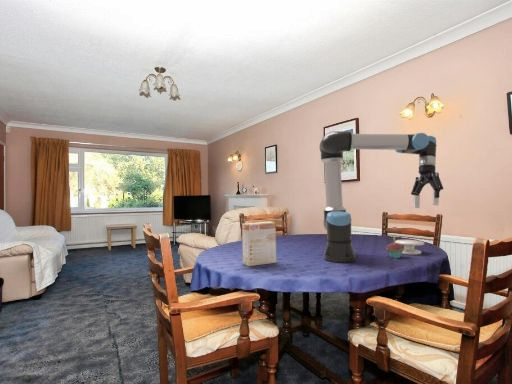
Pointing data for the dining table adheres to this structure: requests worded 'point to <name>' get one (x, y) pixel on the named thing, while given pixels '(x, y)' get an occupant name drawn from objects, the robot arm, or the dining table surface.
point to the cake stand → (410, 246)
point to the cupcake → (395, 249)
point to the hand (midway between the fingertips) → (425, 206)
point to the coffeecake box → (259, 243)
